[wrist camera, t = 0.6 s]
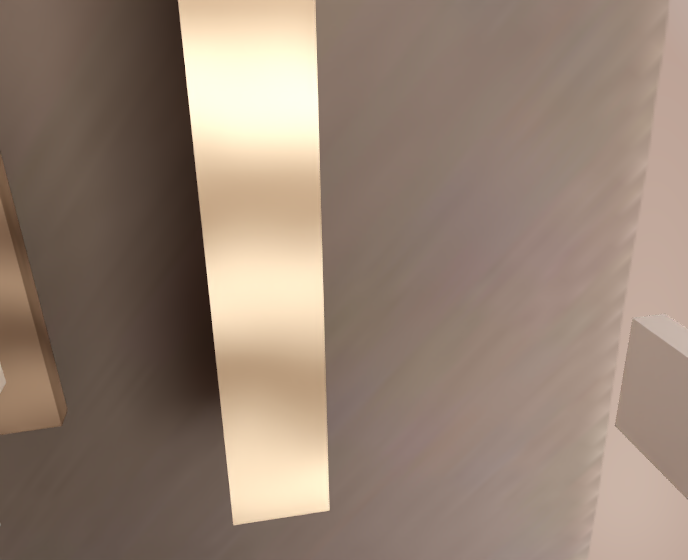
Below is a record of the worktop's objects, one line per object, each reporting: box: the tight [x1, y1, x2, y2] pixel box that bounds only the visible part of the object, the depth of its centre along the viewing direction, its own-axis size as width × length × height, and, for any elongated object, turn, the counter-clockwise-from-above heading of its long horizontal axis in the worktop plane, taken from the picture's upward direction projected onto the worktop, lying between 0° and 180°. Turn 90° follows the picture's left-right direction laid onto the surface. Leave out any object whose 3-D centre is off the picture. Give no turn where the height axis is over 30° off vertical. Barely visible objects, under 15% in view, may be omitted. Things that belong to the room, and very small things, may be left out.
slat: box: [178, 0, 329, 525], centre depth 26 cm, size 24×4×11 cm, turn 1°
